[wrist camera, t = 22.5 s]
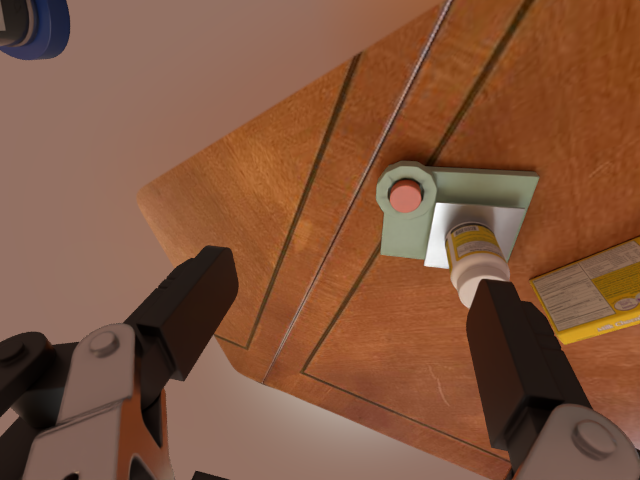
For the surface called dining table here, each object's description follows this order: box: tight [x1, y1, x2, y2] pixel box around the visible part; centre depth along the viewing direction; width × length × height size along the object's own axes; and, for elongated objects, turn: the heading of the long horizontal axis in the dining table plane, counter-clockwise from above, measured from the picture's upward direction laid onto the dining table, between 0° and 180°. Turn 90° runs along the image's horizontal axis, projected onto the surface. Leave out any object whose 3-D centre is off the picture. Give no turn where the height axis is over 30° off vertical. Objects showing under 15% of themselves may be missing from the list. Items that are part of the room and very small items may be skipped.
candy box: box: [529, 237, 640, 345], centre depth 30 cm, size 16×2×8 cm, turn 134°
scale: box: [376, 161, 539, 263], centre depth 33 cm, size 15×12×3 cm
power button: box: [390, 179, 421, 213], centre depth 31 cm, size 3×3×2 cm
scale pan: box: [424, 201, 525, 269], centre depth 32 cm, size 8×8×1 cm
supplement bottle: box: [445, 222, 510, 308], centre depth 29 cm, size 5×5×8 cm
